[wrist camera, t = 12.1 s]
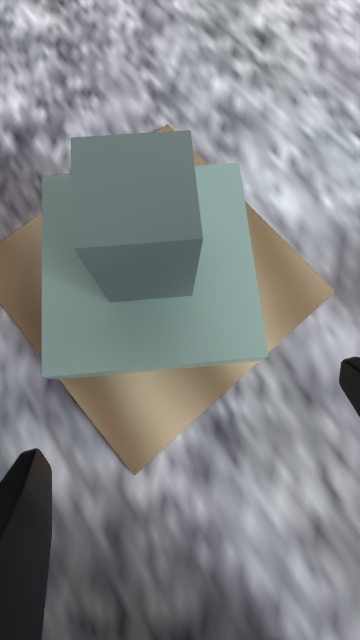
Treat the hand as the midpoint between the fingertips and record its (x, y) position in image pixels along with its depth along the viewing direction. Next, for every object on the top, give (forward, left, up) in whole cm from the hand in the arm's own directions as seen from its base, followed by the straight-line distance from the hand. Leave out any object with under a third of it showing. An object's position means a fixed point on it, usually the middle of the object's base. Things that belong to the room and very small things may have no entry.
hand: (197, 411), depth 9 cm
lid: (+3, +7, -8) cm, 11 cm away
